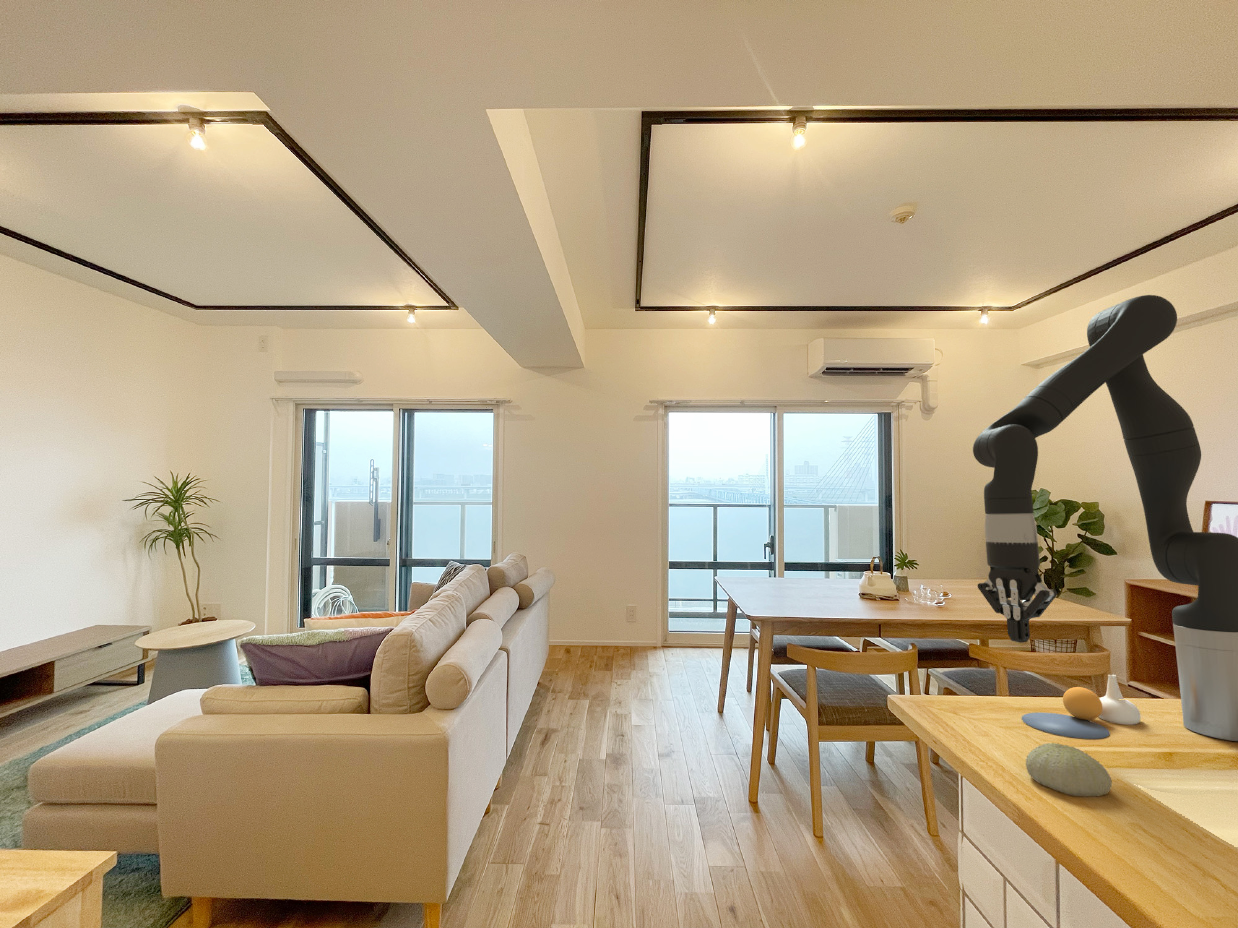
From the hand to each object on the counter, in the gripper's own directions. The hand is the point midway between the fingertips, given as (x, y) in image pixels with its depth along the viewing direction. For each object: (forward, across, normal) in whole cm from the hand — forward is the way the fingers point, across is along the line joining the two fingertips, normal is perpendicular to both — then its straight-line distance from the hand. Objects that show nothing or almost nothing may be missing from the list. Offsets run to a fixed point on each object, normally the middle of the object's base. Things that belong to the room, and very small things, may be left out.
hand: (1019, 641), depth 96 cm
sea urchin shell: (+15, -15, +13) cm, 25 cm away
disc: (+15, 0, -9) cm, 17 cm away
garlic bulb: (+15, -1, -21) cm, 26 cm away
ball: (+12, +1, -15) cm, 20 cm away
